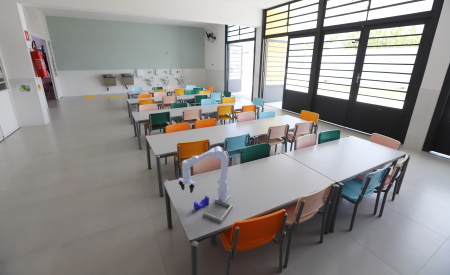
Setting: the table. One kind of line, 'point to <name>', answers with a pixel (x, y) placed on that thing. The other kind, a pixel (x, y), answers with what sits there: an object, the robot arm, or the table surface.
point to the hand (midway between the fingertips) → (187, 191)
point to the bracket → (223, 215)
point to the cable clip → (201, 203)
